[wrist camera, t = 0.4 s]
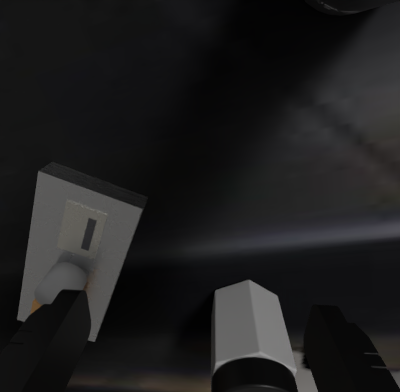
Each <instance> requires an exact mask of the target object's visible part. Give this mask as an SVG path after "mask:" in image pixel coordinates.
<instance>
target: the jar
mask: <svg viewBox="0 0 400 392" xmlns="http://www.w3.org/2000/svg"><path fill="white" fill-rule="evenodd" d="M296 372H297V368H296V365H295V361H294V357H293V353H292V349H291V346H290V342H289V338H288V334H287V330H286V327H285V323H284V319H283V315H282V312H281V308H280V304H279V300H278V297H277V295H275V294H273V293H272V292H270V291H268V290H266V289H265V288H263V287H261V286H259V285H258V284H256V283H254V282H252V281H251V280H246V281H242V282H239V283H236V284H233V285H230V286H227V287H223V288H220V289H217V290H215V293H214V300H213V308H212V315H211V392H298V390H297V385H296V382H295V378H294V377H295V375H296Z"/></svg>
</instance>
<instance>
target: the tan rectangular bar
mask: <svg viewBox="0 0 400 392" xmlns="http://www.w3.org/2000/svg"><path fill="white" fill-rule="evenodd" d="M86 282H87V277H86V274H85V272H84V271H83V270H82V269H81V268H80V267H78V266H77V265H75V264H72V263H68V262H60V263H57V264H55V265H53V266H52V268H51V269H50V270H49V272H48V273H47V274H46V275H45V277H44V278H43V279H42V281H41V282H40V283H39V285H38V286H37V287H36V289H35V291H34V296H35V299H34V300H33V302H32V308H31V314H32V313H33V312H34V311H35V310H37V309H38V308H39V307H41V306H42V305H43V304H51V303H52V302H53V300H54V299H55V298H56V296H57V295H58V293H59V292H60V291H61V290H62V289H71V290H83V288H84V286H85V284H86Z"/></svg>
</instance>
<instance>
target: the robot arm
mask: <svg viewBox="0 0 400 392" xmlns="http://www.w3.org/2000/svg"><path fill="white" fill-rule="evenodd" d="M304 1H305V2H306V3H307V4H309V5H310V6H311V7H313V8H314V9H316V10H317V11H320V12H323V13H326V14H328V15H339V16H343V15H349V14H355V13H359V12H362V11H366V10H369V9H373V8H376V7H380V6H384V5H388V4H391V3H395V2H398V1H400V0H304ZM90 331H91V316H90V310H89V304H88V298H87V293H86V291H85V290H71V289H62V290H61V291H60V292H59V293H58V295H57V296H56V298H55V299H54V300H53V302H52V303H51V304H43V305H42V306H41V307H39V308H38V309H37V310H35V311H34V312H33V313H32V314H30V315H29V316H28V318H27V319H26V320H25V322H24V323H23V324H22V326H21V327H20V328H19V330H18V333H16V334H15V335H14V336H13V338H12V339H11V340H10V342H9V345H7V346H6V347H5V348H4V350H3V351H2V352H1V354H0V392H64V391H65V389H66V386H67V384H68V382H69V380H70V378H71V375H72V373H73V371H74V369H75V367H76V365H77V362H78V360H79V358H80V356H81V354H82V352H83V349H84V347H85V345H86V343H87V341H88V338H89V335H90ZM304 350H305V354H306V357H307V360H308V363H309V366H310V369H311V372H312V375H313V378H314V380H315V384H316V386H317V389H318V392H400V388H399V387H398V385H397V384H396V382H395V380H394V379H393V377H392V375H391V373H390V372H389V370H387V369H386V365H385V363H384V362H383V360H382V358H381V357H380V356H379V355H378V352H377V350H376V348H375V347H374V345H373V343H372V342H371V340H370V338H369V337H368V336H367V335H366V334H365V333H364V332H363V331H362V330H361V329H360V328H359V327H358V326H357V325H356V324H355V323H347V321H346V319H345V318H344V316H343V314H342V312H341V310H340V309H339V308H338V307H337V306H331V305H313V306H312V308H311V311H310V315H309V319H308V322H307V326H306V329H305V333H304Z"/></svg>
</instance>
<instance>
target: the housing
mask: <svg viewBox="0 0 400 392" xmlns="http://www.w3.org/2000/svg"><path fill="white" fill-rule="evenodd" d="M147 199H148V197H146V196H143V195H141V194H138V193H135V192H133V191H130V190H127V189H125V188H122V187H119V186H117V185H114V184H111V183H109V182H106V181H103V180H101V179H98V178H95V177H93V176H90V175H87V174H85V173H82V172H79V171H77V170H74V169H71V168H69V167H66V166H63V165H61V164H58V163H55V162H51V163H50V164H48V165H47V166H45V167H44V168H42V169H41V170H39V171H38V178H37V185H36V192H35V199H34V206H33V213H32V220H31V227H30V234H29V241H28V248H27V255H26V262H25V269H24V276H23V283H22V290H21V297H20V304H19V311H18V318H17V320H20V321H24V322H25V320H26V319H27V318H28V316H29V315H30V314H31V308H32V302H33V300H34V299H35V296H34V291H35V289H36V287H37V286H38V285H39V283H40V282H41V281H42V279H43V278H44V277H45V275H46V274H47V273H48V272H49V270H50V269H51V268H52V266H53V265H55V264H57V263H60V262H68V263H72V264H75V265H77V266H78V267H80V268H81V269H82V270H83V271H84V272H85V274H86V277H87V282H86V284H85V286H84V288H83V290H85V291H86V293H87V298H88V304H89V310H90V316H91V331H90V335H89V338H88V340H89V341H93V342H95V340H96V337H97V335H98V332H99V330H100V328H101V325H102V322H103V320H104V317H105V314H106V311H107V309H108V306H109V303H110V300H111V298H112V295H113V292H114V289H115V287H116V284H117V281H118V278H119V276H120V273H121V270H122V268H123V265H124V262H125V259H126V257H127V254H128V251H129V248H130V246H131V243H132V240H133V237H134V235H135V232H136V229H137V226H138V224H139V221H140V218H141V215H142V213H143V210H144V207H145V204H146V202H147Z"/></svg>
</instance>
